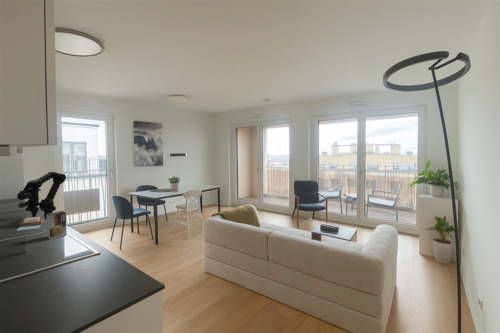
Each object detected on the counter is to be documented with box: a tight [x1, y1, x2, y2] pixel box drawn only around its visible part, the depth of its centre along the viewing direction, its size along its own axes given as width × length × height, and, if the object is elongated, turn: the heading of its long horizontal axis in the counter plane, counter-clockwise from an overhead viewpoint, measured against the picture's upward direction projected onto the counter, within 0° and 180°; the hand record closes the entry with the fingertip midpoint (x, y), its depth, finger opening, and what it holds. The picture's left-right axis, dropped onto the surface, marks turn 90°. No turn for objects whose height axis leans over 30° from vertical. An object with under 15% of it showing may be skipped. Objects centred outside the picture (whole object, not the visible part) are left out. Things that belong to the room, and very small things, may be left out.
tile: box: [22, 216, 41, 223], centre depth 177 cm, size 6×8×2 cm
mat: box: [16, 225, 42, 232], centre depth 171 cm, size 8×12×1 cm, turn 122°
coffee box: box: [45, 210, 68, 240], centre depth 156 cm, size 9×6×16 cm
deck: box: [18, 216, 46, 228], centre depth 180 cm, size 13×12×3 cm
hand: (34, 217), depth 183 cm, fingers closed
